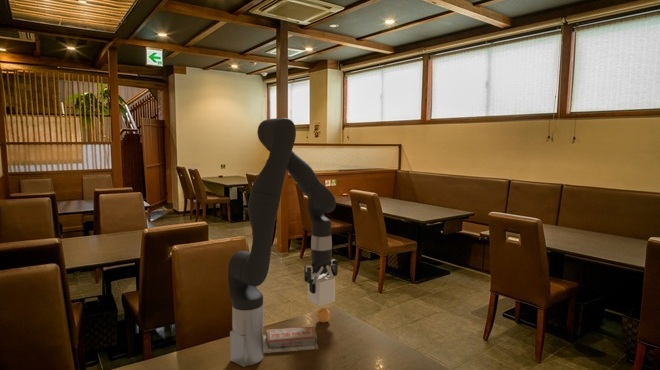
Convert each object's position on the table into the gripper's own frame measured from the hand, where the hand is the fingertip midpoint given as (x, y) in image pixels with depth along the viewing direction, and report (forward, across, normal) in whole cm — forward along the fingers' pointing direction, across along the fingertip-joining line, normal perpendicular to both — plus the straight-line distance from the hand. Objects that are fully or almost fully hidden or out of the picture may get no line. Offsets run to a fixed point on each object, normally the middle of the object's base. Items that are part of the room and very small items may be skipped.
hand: (321, 290), depth 145 cm
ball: (+9, 0, +1) cm, 10 cm away
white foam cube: (+4, 0, 0) cm, 4 cm away
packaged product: (+13, +18, +6) cm, 23 cm away
